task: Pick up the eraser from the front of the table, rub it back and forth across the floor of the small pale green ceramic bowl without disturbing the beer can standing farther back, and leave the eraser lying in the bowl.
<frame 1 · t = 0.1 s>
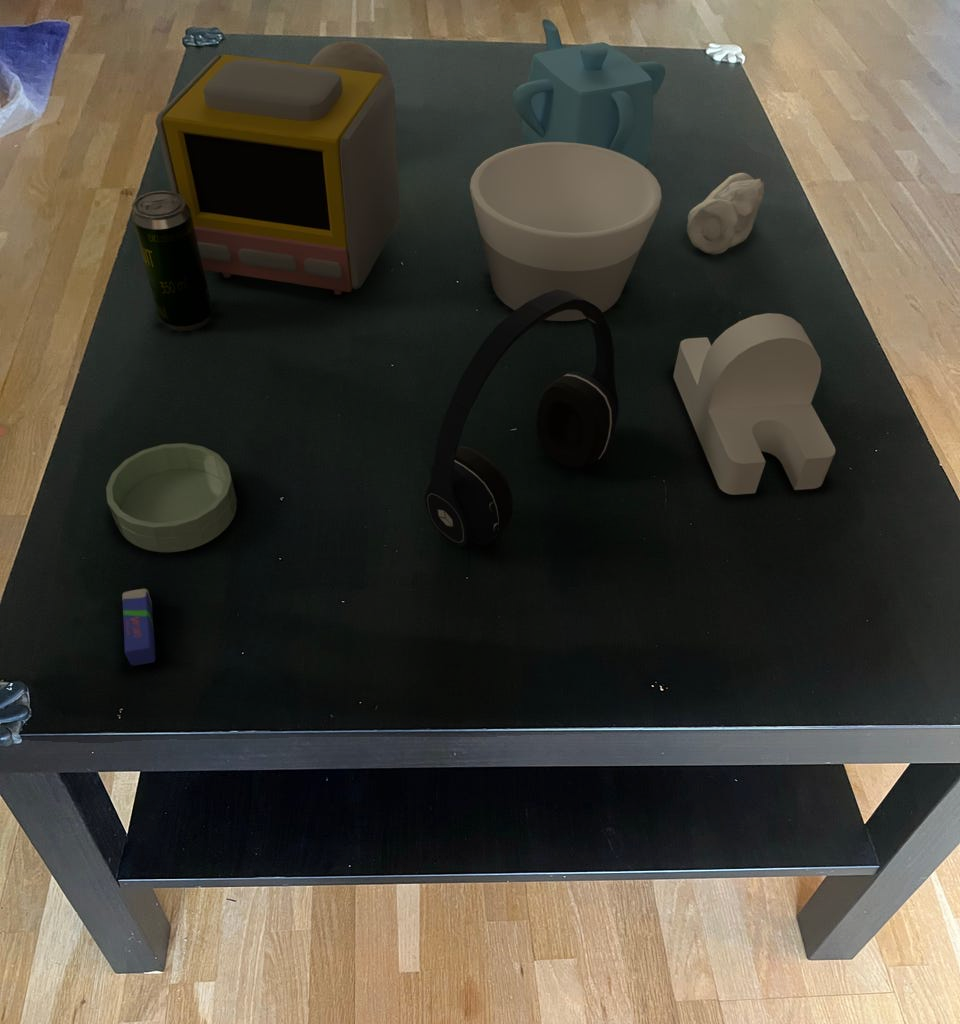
beer can: (187, 319, 99), on the table
teapot: (575, 160, 122), on the table
bowl: (556, 285, 104), on the table
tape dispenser: (743, 427, 90), on the table
earphone: (522, 494, 84), on the table
eraser: (143, 636, 73), on the table
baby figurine: (719, 235, 111), on the table
alarm clock: (298, 260, 106), on the table
celadon bowl: (177, 509, 81), on the table
seashell: (346, 142, 123), on the table
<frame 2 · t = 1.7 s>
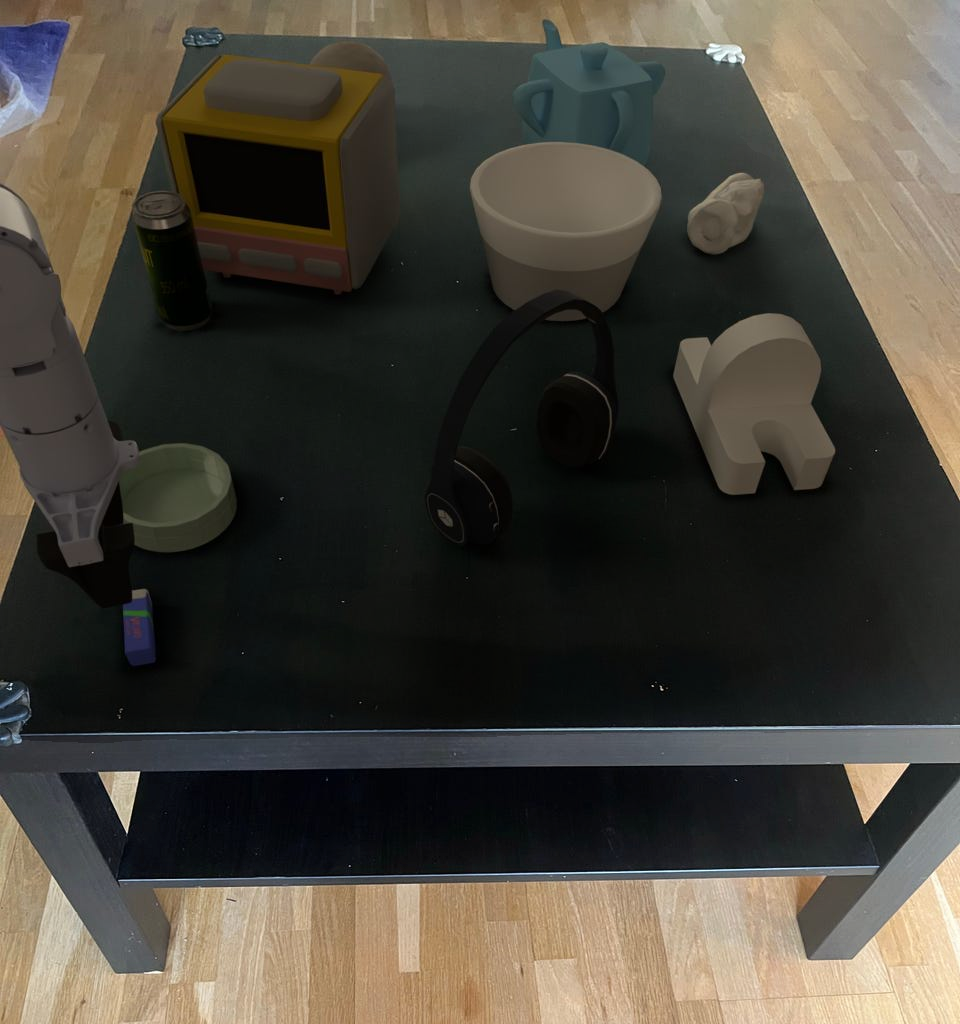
hand: (112, 561, 67), 8 cm above the table, tool pointing down, fingers open, 7 cm apart
nothing on the table moved.
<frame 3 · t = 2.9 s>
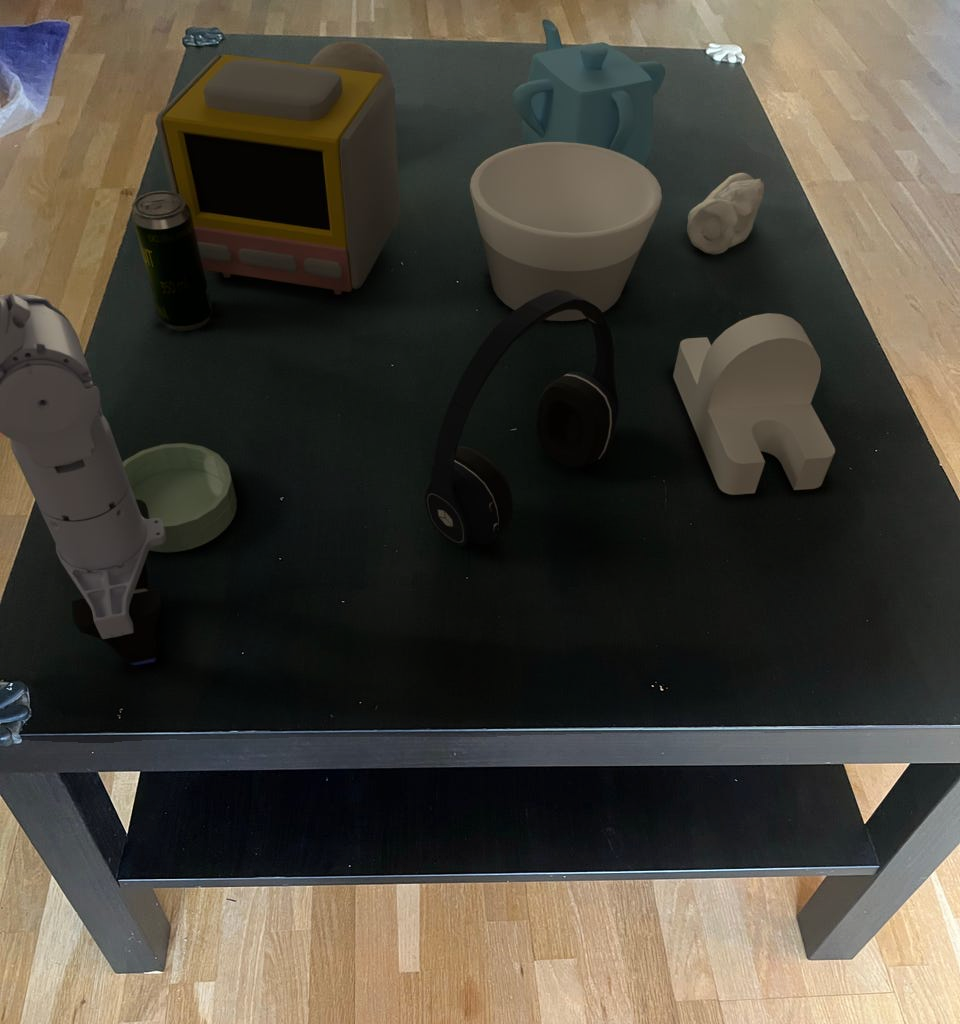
hand: (137, 623, 72), 1 cm above the table, tool pointing down, fingers closed on eraser, 6 cm apart
eraser: (143, 636, 73), on the table, touching gripper
everything else where it was.
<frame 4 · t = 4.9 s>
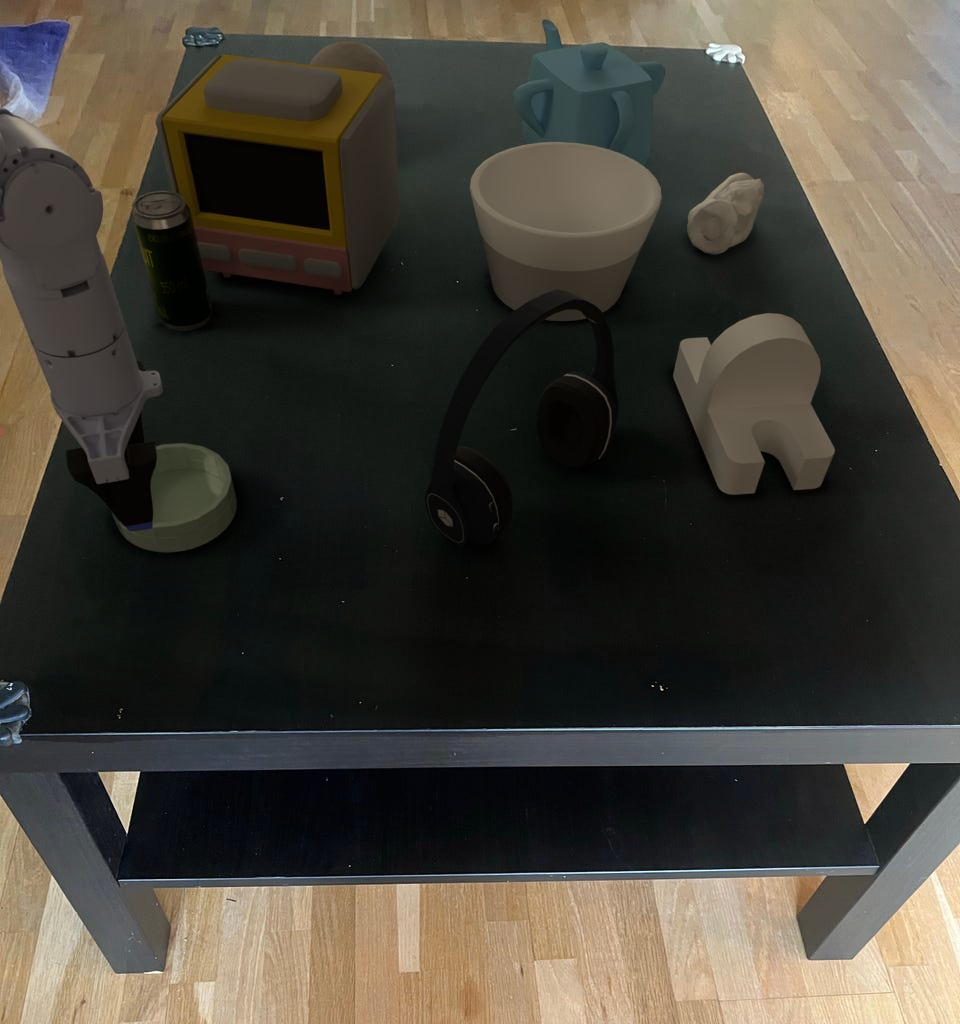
hand: (134, 490, 71), 8 cm above the table, tool pointing down, fingers closed on eraser, 6 cm apart
eraser: (140, 506, 72), point 7 cm above the table, touching gripper
everything else where it was.
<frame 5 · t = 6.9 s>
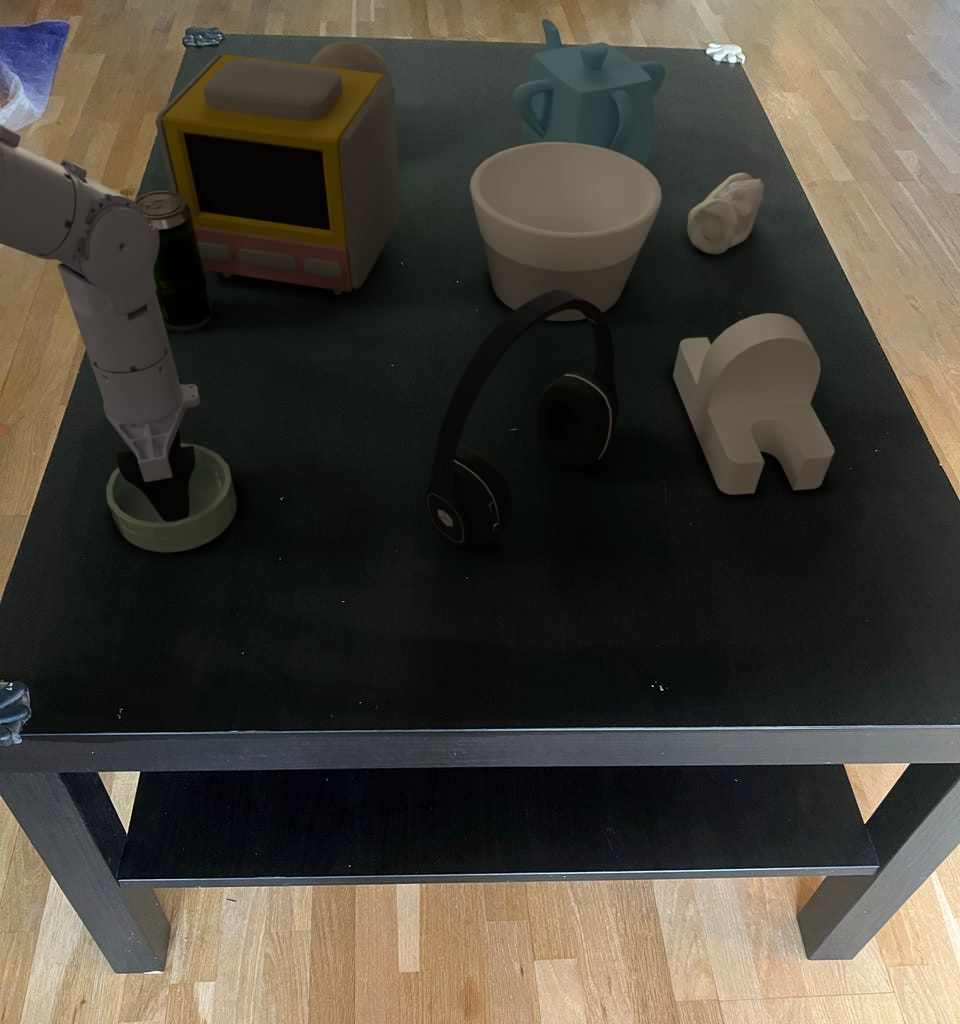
hand: (172, 489, 80), 2 cm above the table, tool pointing down, fingers closed on eraser, 6 cm apart
eraser: (176, 502, 81), resting on celadon bowl, touching gripper
everything else where it was.
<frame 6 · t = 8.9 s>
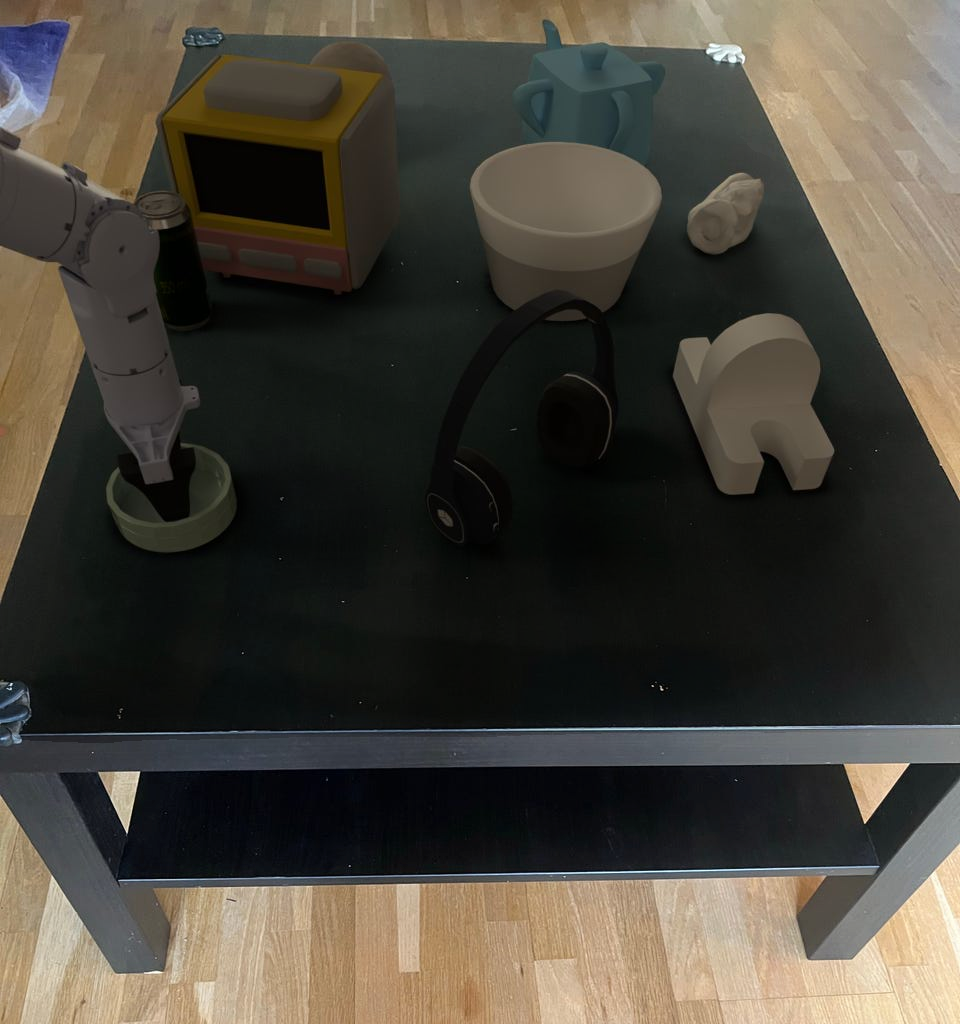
hand: (172, 490, 80), 2 cm above the table, tool pointing down, fingers closed on eraser, 6 cm apart
eraser: (176, 503, 81), resting on celadon bowl, touching gripper
everything else where it was.
when the fingers open (2 cm above the table, at t = 10.4 s): eraser stays where it is, resting on celadon bowl.
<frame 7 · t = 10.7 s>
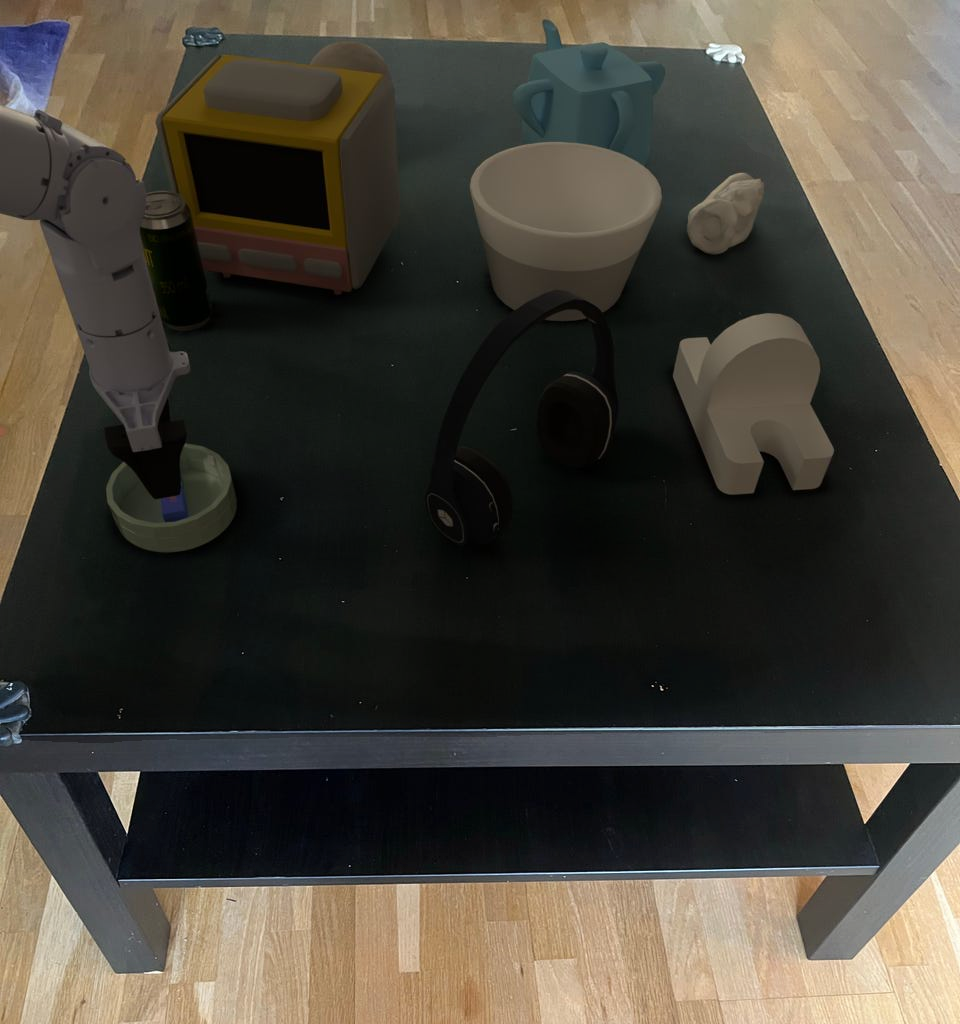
hand: (161, 462, 77), 5 cm above the table, tool pointing down, fingers open, 7 cm apart
eraser: (176, 506, 81), resting on celadon bowl
everything else where it was.
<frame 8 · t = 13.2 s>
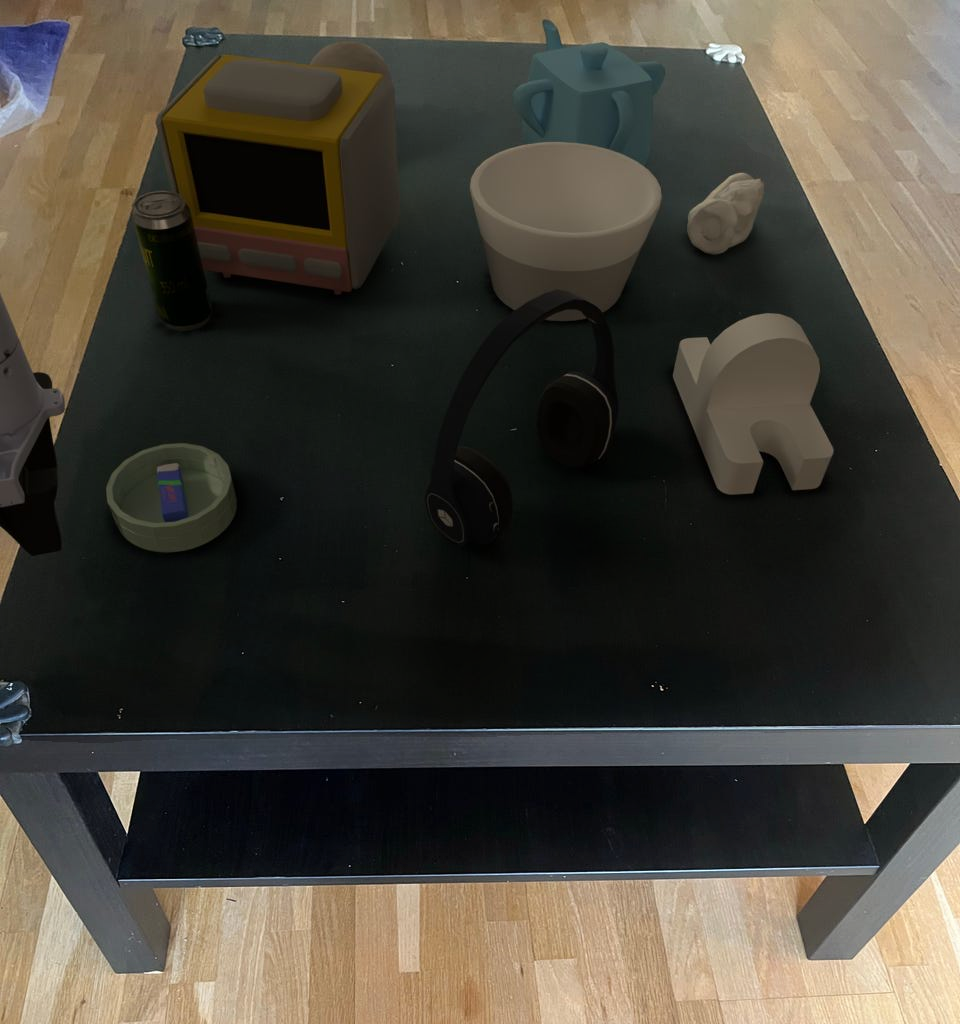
hand: (44, 511, 68), 9 cm above the table, tool pointing down, fingers open, 7 cm apart
nothing on the table moved.
at the end: eraser inside the target area in the celadon bowl (0.1 cm from its centre), point 0.3 cm above the celadon bowl's base; the gripper is holding nothing; beer can moved 0.2 cm from its start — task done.
